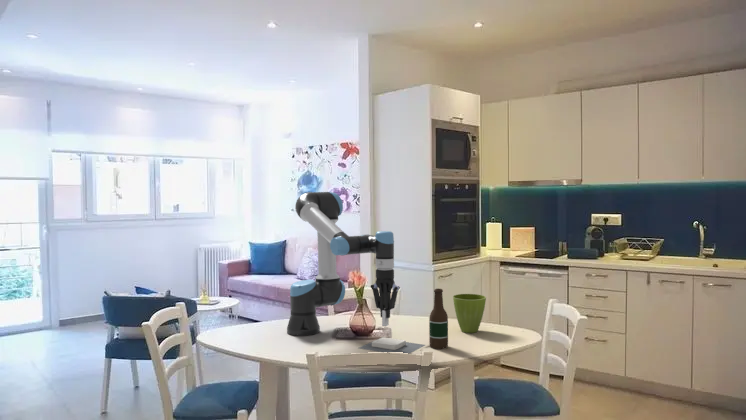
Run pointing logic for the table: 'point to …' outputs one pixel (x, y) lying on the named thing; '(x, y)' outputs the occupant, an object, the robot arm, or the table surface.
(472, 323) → the flower pot
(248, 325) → the table surface
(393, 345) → the tile
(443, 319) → the beer bottle
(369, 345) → the mat
